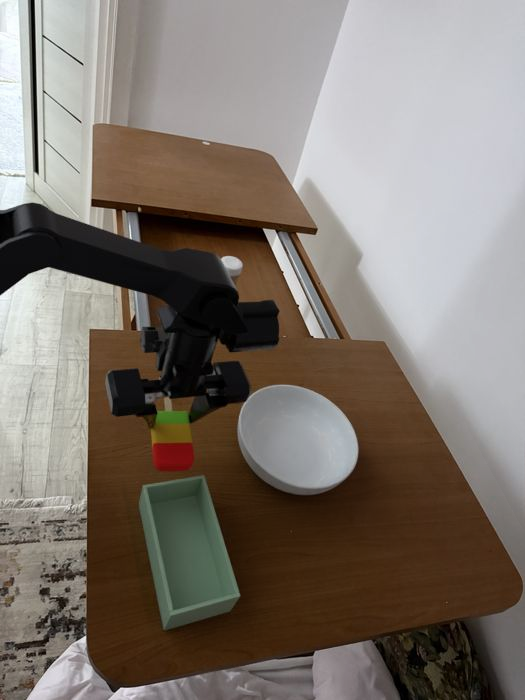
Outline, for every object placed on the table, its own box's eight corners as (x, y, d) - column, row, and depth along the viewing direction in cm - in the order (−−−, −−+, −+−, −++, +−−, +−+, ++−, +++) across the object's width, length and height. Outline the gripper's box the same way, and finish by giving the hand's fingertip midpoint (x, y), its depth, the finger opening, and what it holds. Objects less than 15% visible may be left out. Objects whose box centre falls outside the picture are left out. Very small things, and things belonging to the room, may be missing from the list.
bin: (230, 611, 67) (240, 596, 63) (163, 631, 63) (170, 616, 59) (197, 493, 78) (204, 474, 74) (138, 504, 74) (142, 485, 70)
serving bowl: (357, 445, 94) (373, 423, 89) (318, 534, 79) (335, 513, 74) (261, 389, 97) (272, 365, 92) (206, 465, 82) (215, 440, 77)
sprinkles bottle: (230, 310, 111) (246, 260, 102) (223, 321, 108) (239, 271, 99) (211, 302, 111) (225, 252, 102) (204, 313, 108) (217, 262, 99)
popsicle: (153, 473, 68) (155, 465, 66) (147, 387, 78) (149, 379, 76) (193, 472, 70) (196, 464, 68) (182, 388, 80) (184, 380, 78)
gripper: (239, 304, 72) (214, 376, 82) (103, 306, 63) (95, 386, 74) (266, 361, 65) (236, 432, 75) (118, 372, 57) (107, 450, 67)
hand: (170, 423), depth 73 cm, fingers closed on popsicle, 6 cm apart
